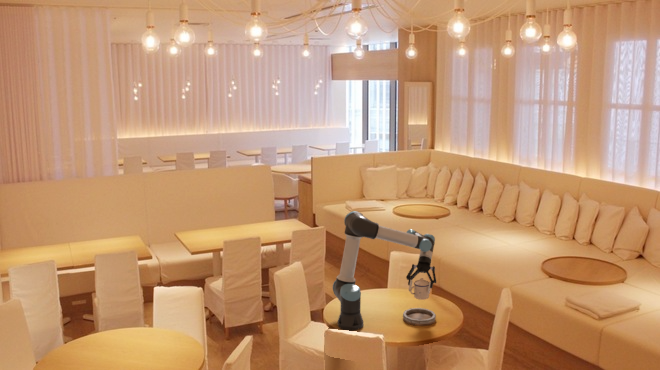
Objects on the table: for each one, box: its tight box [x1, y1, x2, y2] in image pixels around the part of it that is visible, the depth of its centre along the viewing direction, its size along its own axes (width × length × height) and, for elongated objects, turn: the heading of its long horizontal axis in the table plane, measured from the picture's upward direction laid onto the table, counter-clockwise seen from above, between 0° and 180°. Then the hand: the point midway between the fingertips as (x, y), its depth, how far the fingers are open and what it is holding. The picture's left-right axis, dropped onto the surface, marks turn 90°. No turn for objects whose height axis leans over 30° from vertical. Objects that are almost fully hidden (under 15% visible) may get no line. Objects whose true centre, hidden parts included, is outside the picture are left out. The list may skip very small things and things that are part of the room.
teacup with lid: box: [409, 277, 430, 301], centre depth 379 cm, size 12×9×12 cm
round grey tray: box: [402, 307, 437, 327], centre depth 383 cm, size 19×19×3 cm
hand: (418, 291), depth 377 cm, fingers closed on teacup with lid, 11 cm apart
